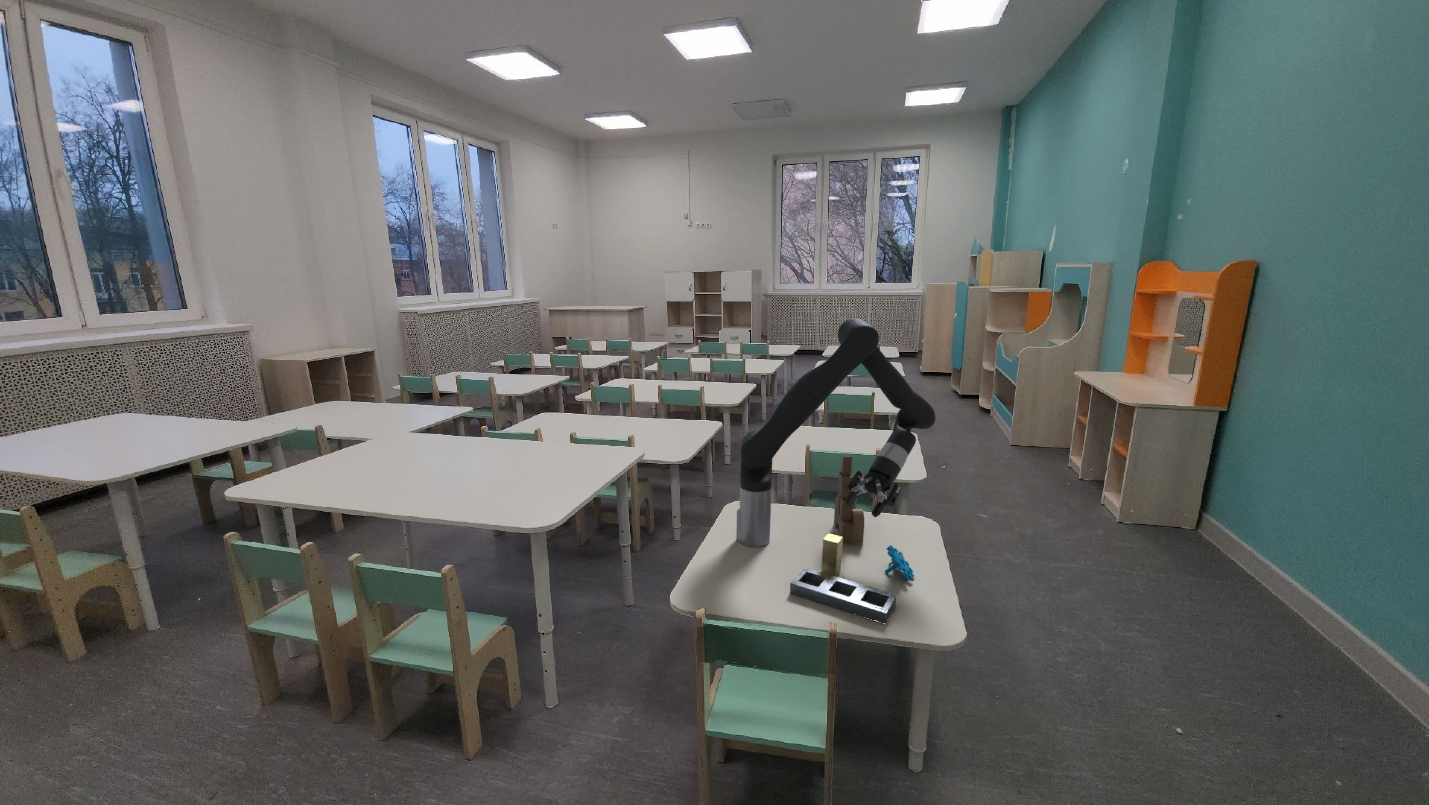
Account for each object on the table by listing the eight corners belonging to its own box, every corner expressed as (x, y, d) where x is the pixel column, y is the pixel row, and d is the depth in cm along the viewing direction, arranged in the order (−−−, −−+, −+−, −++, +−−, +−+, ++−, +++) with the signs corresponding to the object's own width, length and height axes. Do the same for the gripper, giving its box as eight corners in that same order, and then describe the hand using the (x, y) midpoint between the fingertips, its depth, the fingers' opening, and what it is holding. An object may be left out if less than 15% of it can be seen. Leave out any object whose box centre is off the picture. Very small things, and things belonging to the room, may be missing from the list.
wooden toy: (864, 545, 170) (870, 465, 164) (841, 544, 170) (846, 464, 165) (853, 522, 185) (858, 448, 179) (832, 521, 185) (837, 447, 180)
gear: (915, 582, 147) (889, 550, 149) (897, 594, 149) (871, 563, 151) (917, 567, 158) (892, 538, 159) (899, 579, 160) (875, 549, 161)
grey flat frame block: (789, 593, 145) (790, 582, 144) (804, 577, 152) (804, 567, 152) (885, 624, 133) (886, 613, 132) (895, 605, 140) (896, 594, 139)
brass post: (821, 573, 155) (823, 539, 152) (826, 566, 158) (828, 533, 155) (835, 577, 152) (837, 543, 150) (840, 570, 156) (842, 537, 153)
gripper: (863, 448, 166) (834, 495, 162) (906, 462, 155) (877, 512, 151) (873, 462, 170) (845, 508, 166) (916, 476, 159) (887, 525, 155)
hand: (860, 510), depth 158 cm, fingers open, 8 cm apart
